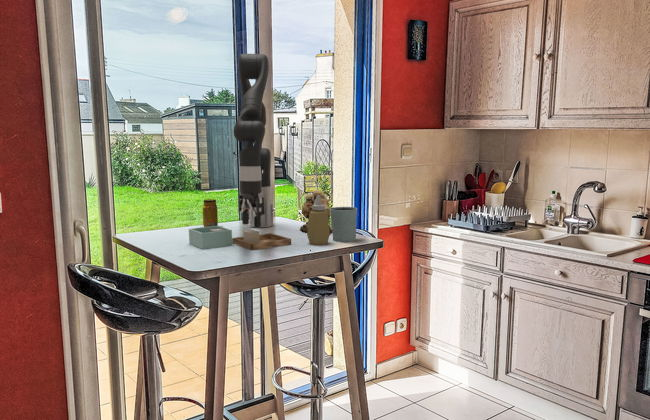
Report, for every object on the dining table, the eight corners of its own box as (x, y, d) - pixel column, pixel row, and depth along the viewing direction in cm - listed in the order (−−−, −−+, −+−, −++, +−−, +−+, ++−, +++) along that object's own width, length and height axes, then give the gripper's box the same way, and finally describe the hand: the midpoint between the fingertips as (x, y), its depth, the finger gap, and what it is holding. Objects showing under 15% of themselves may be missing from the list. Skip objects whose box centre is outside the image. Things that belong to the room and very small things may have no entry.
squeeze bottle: (303, 246, 194) (303, 195, 191) (312, 242, 201) (311, 193, 199) (325, 247, 191) (325, 196, 189) (332, 243, 199) (333, 194, 196)
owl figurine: (291, 229, 228) (291, 188, 225) (315, 227, 234) (315, 187, 232) (315, 236, 213) (315, 192, 211) (340, 233, 219) (340, 190, 217)
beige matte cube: (252, 243, 195) (252, 229, 195) (259, 245, 193) (259, 231, 192) (243, 245, 193) (243, 231, 192) (250, 247, 190) (250, 232, 189)
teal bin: (218, 241, 202) (217, 225, 201) (232, 246, 193) (231, 230, 192) (189, 245, 195) (188, 228, 195) (202, 250, 187) (201, 233, 186)
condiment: (203, 226, 235) (202, 198, 233) (223, 226, 236) (222, 198, 235) (201, 229, 228) (201, 200, 226) (222, 228, 229) (221, 200, 228)
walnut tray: (271, 239, 205) (270, 233, 205) (291, 246, 194) (291, 238, 194) (232, 245, 196) (232, 237, 196) (251, 251, 185) (251, 244, 184)
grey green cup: (355, 243, 200) (355, 210, 198) (328, 242, 201) (328, 209, 200) (358, 237, 210) (358, 206, 208) (332, 236, 211) (332, 206, 210)
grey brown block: (219, 242, 198) (219, 228, 198) (224, 243, 195) (224, 230, 195) (209, 243, 196) (209, 229, 195) (214, 245, 193) (213, 231, 192)
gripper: (270, 180, 186) (271, 227, 188) (250, 177, 197) (251, 222, 199) (250, 181, 181) (251, 229, 184) (231, 178, 193) (232, 224, 195)
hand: (251, 225), depth 191 cm, fingers open, 8 cm apart
